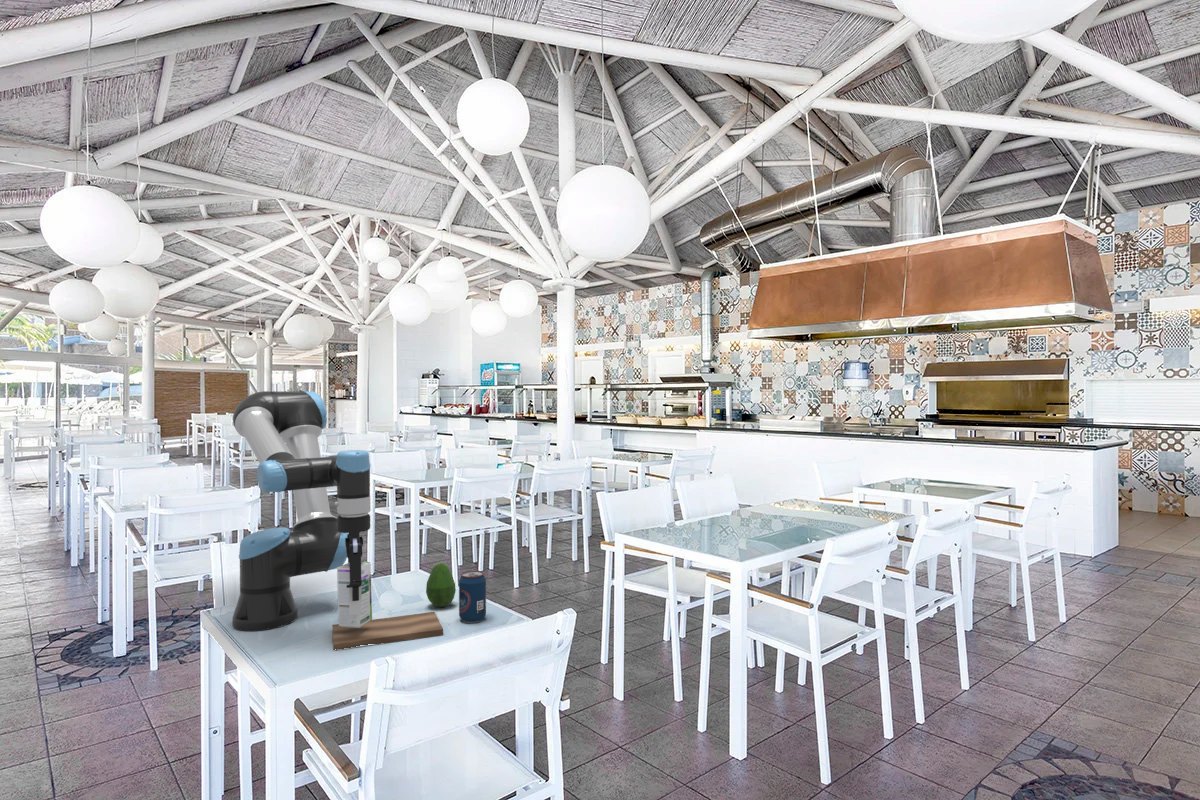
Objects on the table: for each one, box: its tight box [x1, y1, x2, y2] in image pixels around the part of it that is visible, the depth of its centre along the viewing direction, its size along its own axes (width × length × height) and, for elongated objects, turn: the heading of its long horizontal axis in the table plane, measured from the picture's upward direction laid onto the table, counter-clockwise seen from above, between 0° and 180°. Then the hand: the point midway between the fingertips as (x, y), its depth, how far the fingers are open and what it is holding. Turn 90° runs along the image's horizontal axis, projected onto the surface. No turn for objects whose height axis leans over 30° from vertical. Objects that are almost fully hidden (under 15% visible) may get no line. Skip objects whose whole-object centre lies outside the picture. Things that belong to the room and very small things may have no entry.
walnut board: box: [331, 611, 444, 651], centre depth 164 cm, size 14×25×2 cm, turn 113°
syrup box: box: [336, 560, 373, 628], centre depth 161 cm, size 6×6×14 cm
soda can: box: [458, 570, 487, 624], centre depth 174 cm, size 7×7×12 cm
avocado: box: [425, 562, 457, 608], centre depth 184 cm, size 8×8×12 cm
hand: (354, 608), depth 161 cm, fingers closed on syrup box, 7 cm apart
